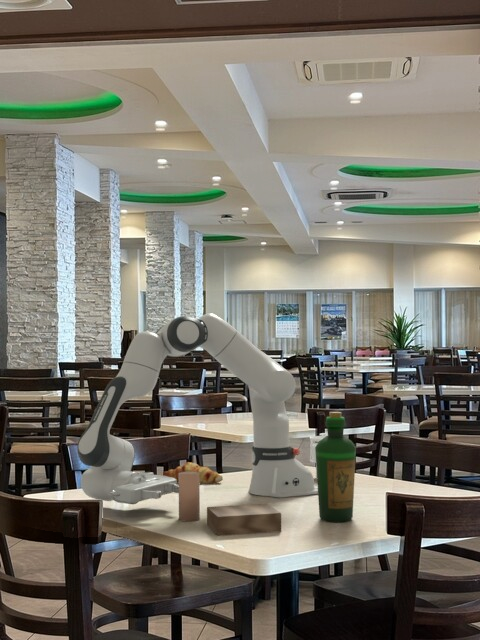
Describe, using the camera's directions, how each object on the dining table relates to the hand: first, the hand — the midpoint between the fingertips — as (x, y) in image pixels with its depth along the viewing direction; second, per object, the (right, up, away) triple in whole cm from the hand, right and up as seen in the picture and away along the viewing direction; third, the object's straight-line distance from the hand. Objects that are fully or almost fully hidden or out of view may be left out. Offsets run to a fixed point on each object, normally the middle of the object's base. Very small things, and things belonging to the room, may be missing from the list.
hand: (170, 492), depth 217 cm
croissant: (+3, -8, +53) cm, 54 cm away
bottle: (+44, -6, -5) cm, 45 cm away
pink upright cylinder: (+5, -6, -4) cm, 9 cm away
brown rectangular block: (+20, -6, -14) cm, 25 cm away
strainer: (+46, -8, +60) cm, 76 cm away
